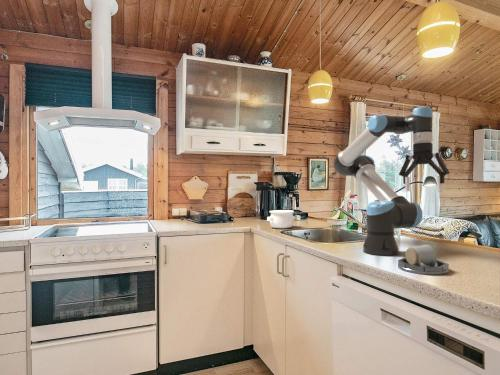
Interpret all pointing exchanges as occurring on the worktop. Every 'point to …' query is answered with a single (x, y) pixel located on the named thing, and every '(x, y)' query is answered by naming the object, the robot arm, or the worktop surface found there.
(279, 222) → the pot
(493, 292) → the worktop surface
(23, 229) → the worktop surface
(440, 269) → the ring plate
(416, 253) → the ceramic mug
